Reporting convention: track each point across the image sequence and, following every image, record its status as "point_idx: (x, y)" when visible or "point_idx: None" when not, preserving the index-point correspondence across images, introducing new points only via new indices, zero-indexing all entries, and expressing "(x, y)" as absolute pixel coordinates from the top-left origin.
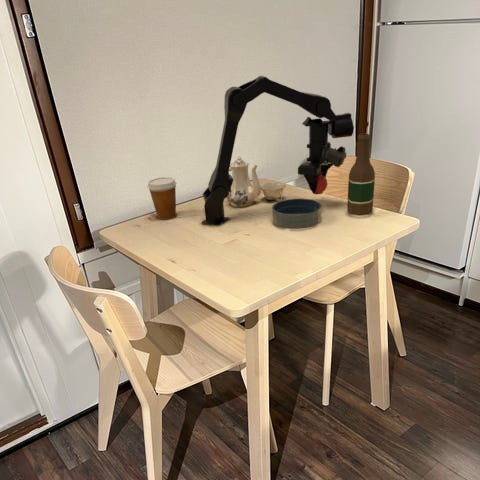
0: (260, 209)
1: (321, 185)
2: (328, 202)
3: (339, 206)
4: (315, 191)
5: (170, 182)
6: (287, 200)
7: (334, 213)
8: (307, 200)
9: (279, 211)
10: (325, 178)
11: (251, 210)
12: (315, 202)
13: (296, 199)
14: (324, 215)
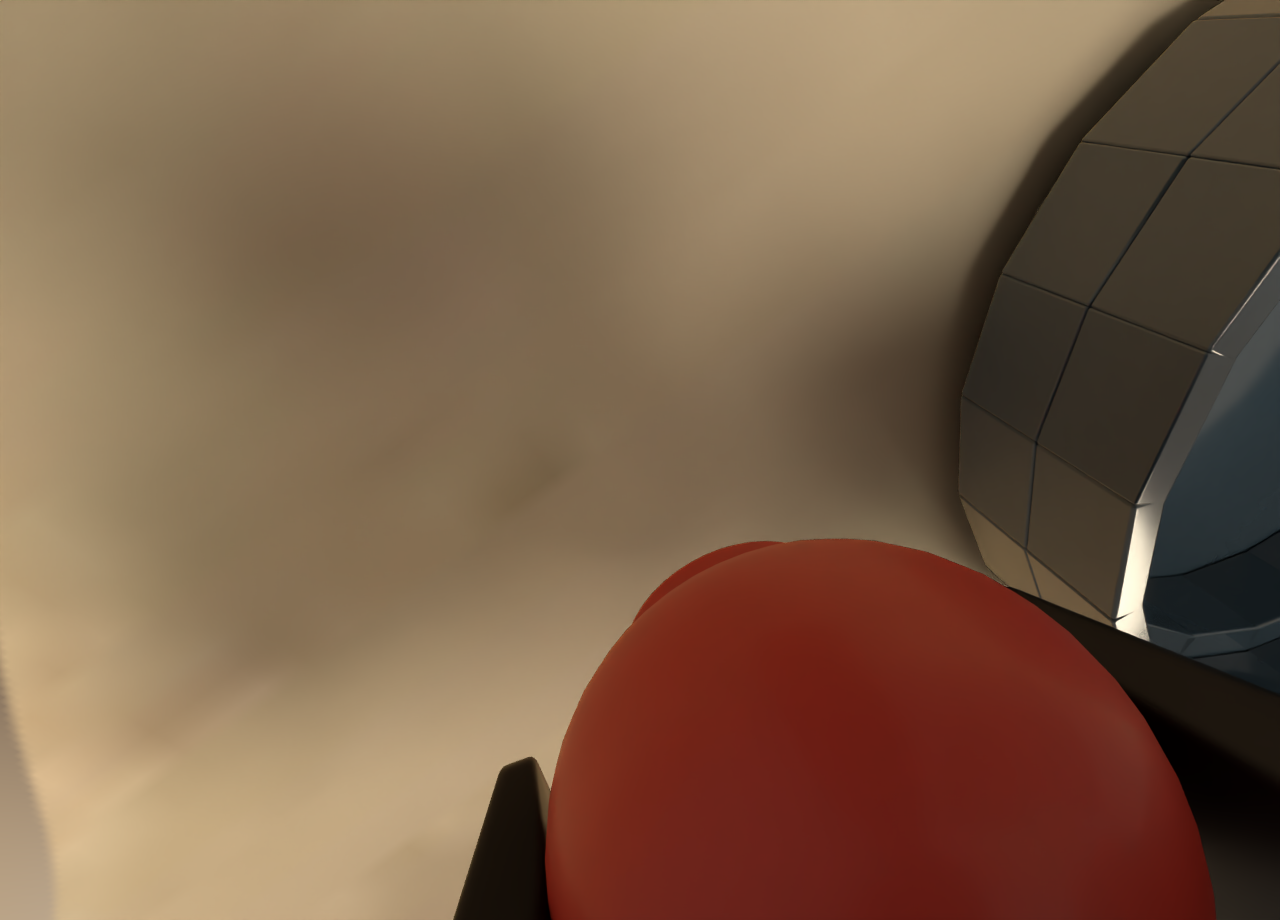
0: None
1: (1068, 642)
2: (276, 509)
3: (311, 183)
4: (1040, 602)
5: None
6: None
7: (740, 14)
8: (1148, 508)
9: (1236, 612)
10: (898, 904)
11: None
12: (1271, 291)
13: None
14: (904, 134)
